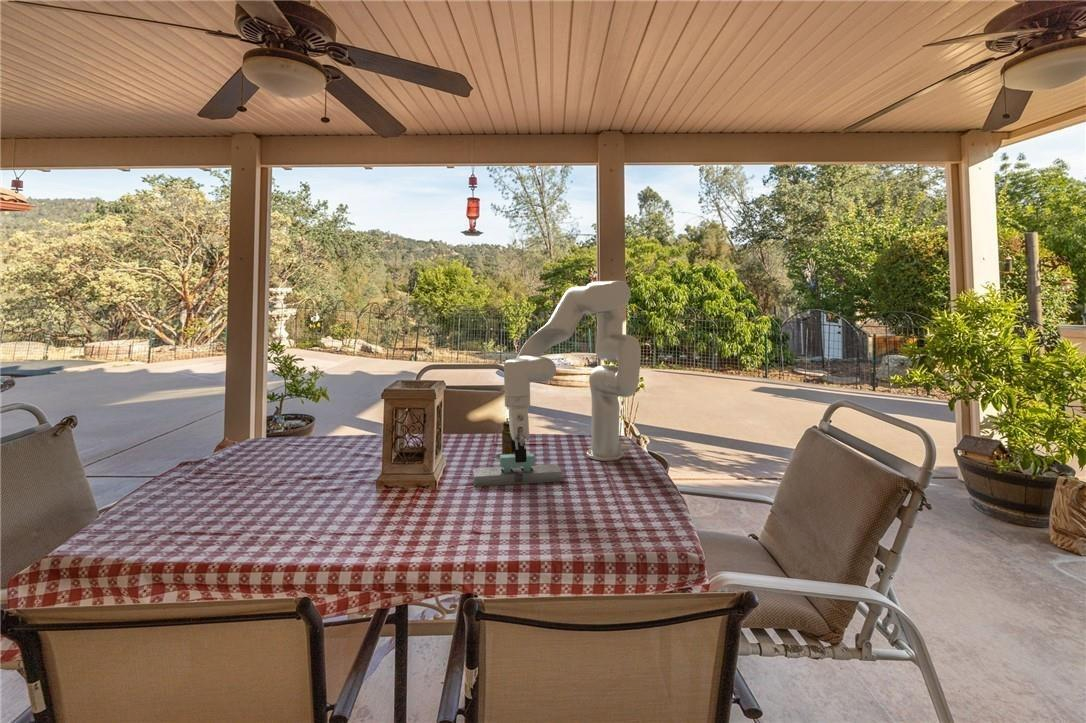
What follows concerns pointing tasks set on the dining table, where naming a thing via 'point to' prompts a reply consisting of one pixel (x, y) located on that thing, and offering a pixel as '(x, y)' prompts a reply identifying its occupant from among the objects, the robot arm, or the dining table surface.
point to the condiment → (505, 440)
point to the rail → (516, 475)
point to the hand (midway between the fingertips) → (518, 456)
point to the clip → (509, 462)
